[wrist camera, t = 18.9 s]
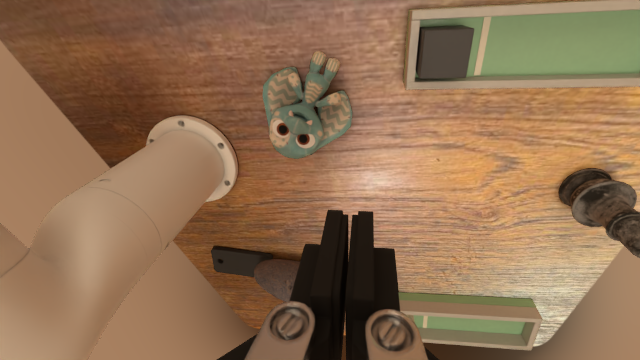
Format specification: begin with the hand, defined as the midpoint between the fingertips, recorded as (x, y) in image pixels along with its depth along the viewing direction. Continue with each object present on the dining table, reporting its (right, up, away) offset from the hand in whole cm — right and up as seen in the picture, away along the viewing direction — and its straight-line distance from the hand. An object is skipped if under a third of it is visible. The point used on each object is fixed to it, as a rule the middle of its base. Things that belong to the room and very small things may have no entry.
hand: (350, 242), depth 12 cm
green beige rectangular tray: (+19, +16, +19) cm, 31 cm away
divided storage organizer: (+20, -18, +38) cm, 47 cm away
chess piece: (+30, +1, +25) cm, 39 cm away
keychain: (-14, -11, +40) cm, 43 cm away
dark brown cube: (+10, +15, +19) cm, 26 cm away
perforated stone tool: (-3, -11, +38) cm, 40 cm away
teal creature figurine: (0, +15, +20) cm, 25 cm away
